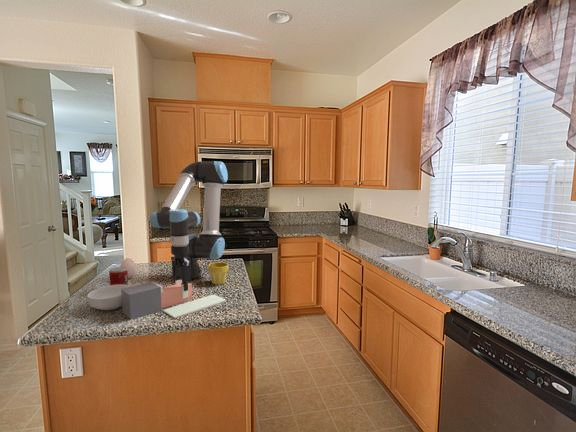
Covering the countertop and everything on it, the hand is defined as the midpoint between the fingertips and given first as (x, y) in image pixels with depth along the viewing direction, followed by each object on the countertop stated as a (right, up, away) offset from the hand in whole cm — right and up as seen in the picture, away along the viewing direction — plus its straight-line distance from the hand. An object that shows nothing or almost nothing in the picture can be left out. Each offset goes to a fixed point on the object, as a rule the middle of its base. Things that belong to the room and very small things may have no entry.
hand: (182, 295), depth 139 cm
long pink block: (-5, -2, -4) cm, 7 cm away
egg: (-40, +1, +31) cm, 50 cm away
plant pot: (+11, +1, +23) cm, 26 cm away
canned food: (-35, -1, +12) cm, 37 cm away
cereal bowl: (-28, -3, -7) cm, 29 cm away
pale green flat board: (+8, -3, -7) cm, 11 cm away
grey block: (-12, -3, -12) cm, 18 cm away
